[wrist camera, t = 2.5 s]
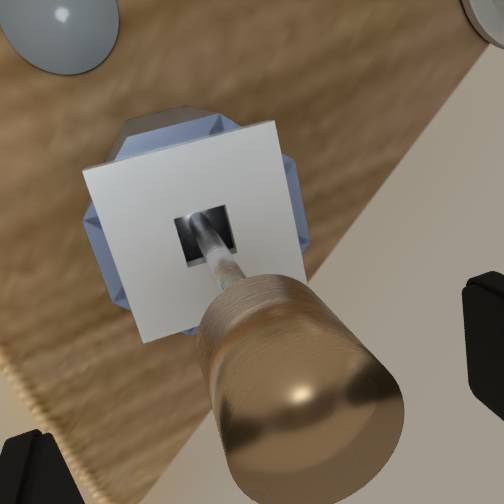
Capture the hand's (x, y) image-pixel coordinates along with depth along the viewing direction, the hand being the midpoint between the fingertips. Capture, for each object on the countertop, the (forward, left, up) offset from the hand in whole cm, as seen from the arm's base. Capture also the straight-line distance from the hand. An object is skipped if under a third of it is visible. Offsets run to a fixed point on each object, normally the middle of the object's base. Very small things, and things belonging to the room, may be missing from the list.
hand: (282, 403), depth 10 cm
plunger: (0, 0, -16) cm, 16 cm away
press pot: (0, +1, -27) cm, 27 cm away
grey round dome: (+4, -12, -27) cm, 30 cm away
